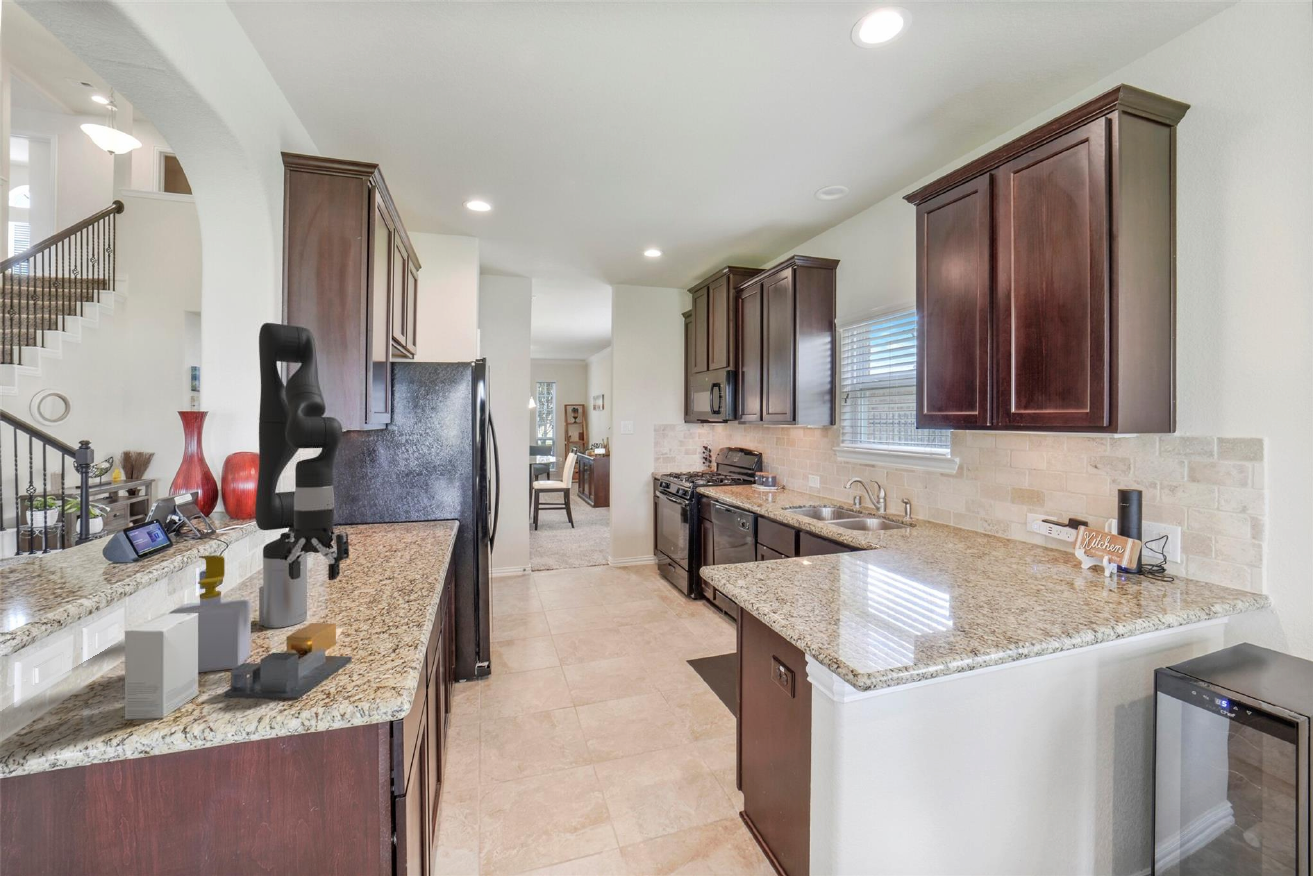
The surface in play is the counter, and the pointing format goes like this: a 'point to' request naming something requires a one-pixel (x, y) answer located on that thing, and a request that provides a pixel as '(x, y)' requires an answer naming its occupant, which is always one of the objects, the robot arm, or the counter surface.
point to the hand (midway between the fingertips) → (314, 579)
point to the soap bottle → (220, 622)
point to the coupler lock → (312, 638)
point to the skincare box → (161, 665)
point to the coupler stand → (284, 675)
